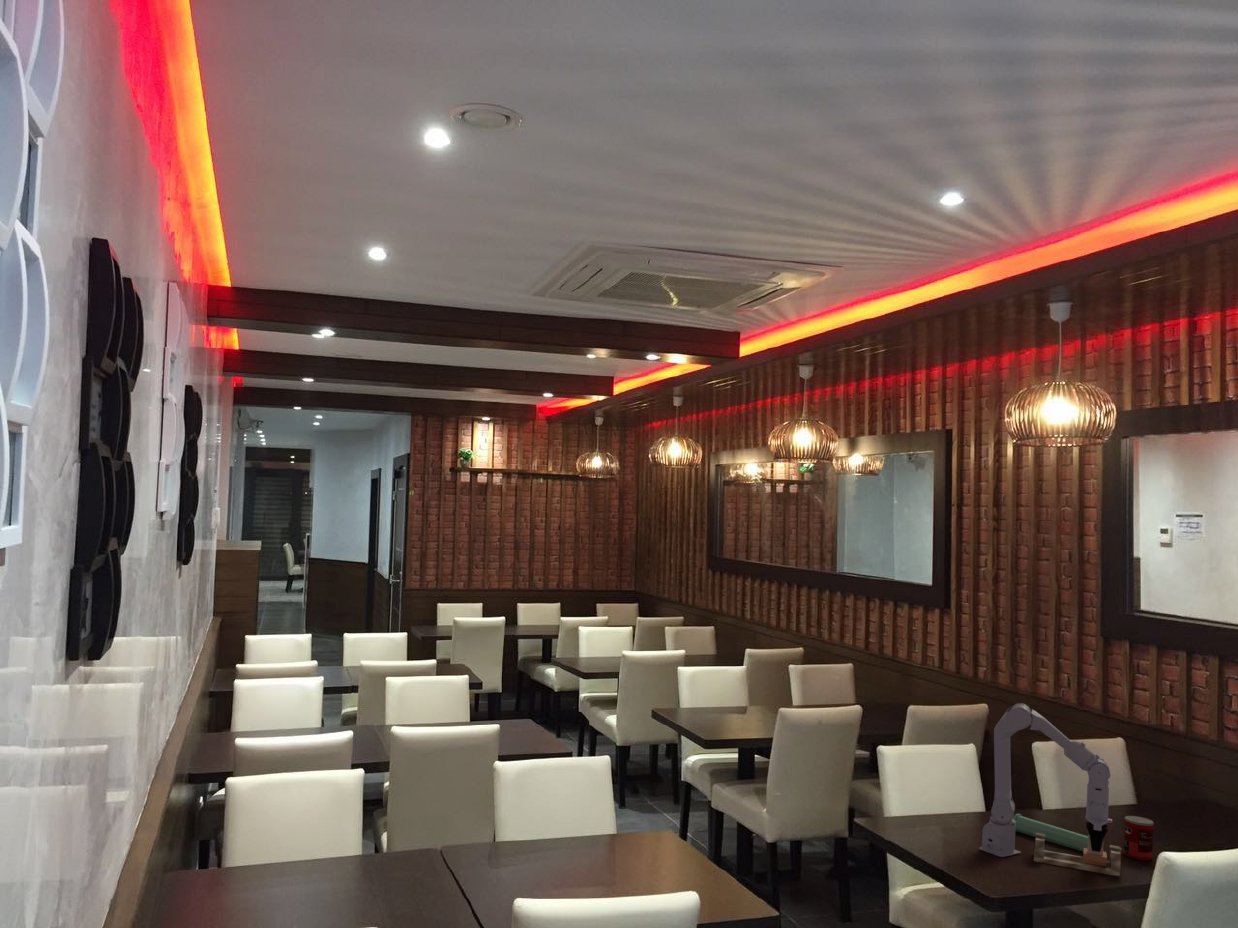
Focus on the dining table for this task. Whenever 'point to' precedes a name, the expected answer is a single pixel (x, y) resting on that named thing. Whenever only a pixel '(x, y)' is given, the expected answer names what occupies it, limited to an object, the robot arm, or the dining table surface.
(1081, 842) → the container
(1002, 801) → the robot arm
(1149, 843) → the canned food
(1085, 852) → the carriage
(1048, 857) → the rail
